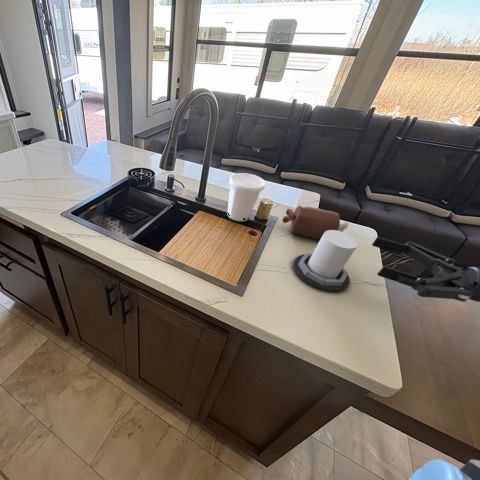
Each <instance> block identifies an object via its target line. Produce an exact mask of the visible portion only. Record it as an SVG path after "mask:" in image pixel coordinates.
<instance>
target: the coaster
mask: <svg viewBox="0 0 480 480" xmlns="http://www.w3.org/2000/svg"><path fill="white" fill-rule="evenodd" d="M312 254H313V252H312V253H308V252H306V253H304V254H301V255H298V256H297V257H296V258H295V259H294V261H293V263H292V269H293V272H294V273H295V275H296V276H297V277H298V278H299V279H300V281H302V283H304V284H306V285H308V286H309V287H311V288H313V289H315V290H318V291H321V292H325V293H332V294H337V293H341V292H343V291H345V290H347V288H348V287H349V285H350V283H351V281H350V280H351V279H350V276H349V273H348V271H347V269H345V268H344V267H343V268H342V270H341V271H340V273H339V274H338V276H337V277H336V279H324V278H322V277H320V276H318V275H316V274H314V273H312V272H310V270H309V269H308V267H307V263H308V262H309V260H310V258H311V256H312Z"/></svg>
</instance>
